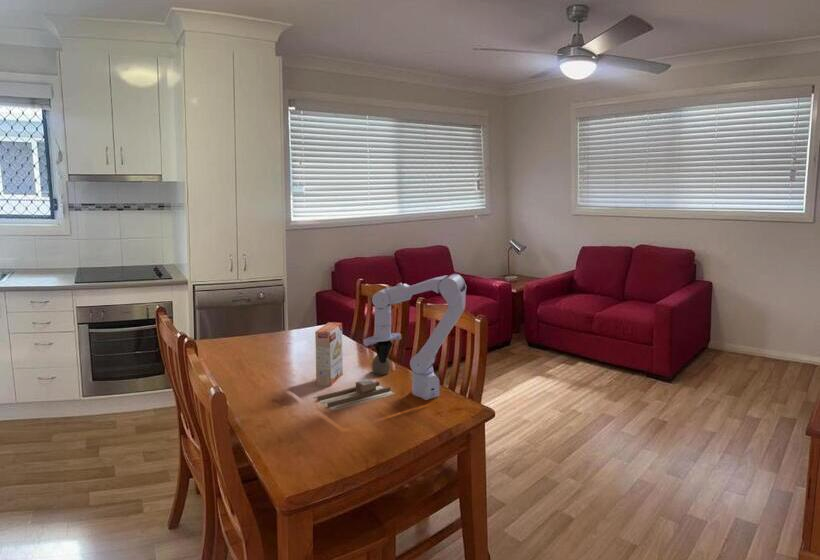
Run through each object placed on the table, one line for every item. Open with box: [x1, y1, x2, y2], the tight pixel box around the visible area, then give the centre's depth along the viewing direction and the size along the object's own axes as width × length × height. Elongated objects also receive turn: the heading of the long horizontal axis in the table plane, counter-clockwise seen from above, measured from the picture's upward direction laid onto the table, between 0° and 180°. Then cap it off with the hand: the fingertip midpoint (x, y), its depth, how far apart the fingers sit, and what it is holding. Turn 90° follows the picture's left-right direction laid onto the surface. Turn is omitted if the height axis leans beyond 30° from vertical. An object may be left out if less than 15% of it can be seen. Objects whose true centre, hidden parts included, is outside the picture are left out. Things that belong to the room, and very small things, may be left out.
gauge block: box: [355, 378, 376, 394], centre depth 197 cm, size 5×5×4 cm
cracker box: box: [314, 321, 344, 387], centre depth 209 cm, size 14×6×21 cm, turn 168°
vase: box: [371, 353, 391, 376], centre depth 217 cm, size 7×7×9 cm
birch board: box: [313, 381, 396, 411], centre depth 195 cm, size 14×24×2 cm, turn 126°
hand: (382, 362), depth 200 cm, fingers closed
